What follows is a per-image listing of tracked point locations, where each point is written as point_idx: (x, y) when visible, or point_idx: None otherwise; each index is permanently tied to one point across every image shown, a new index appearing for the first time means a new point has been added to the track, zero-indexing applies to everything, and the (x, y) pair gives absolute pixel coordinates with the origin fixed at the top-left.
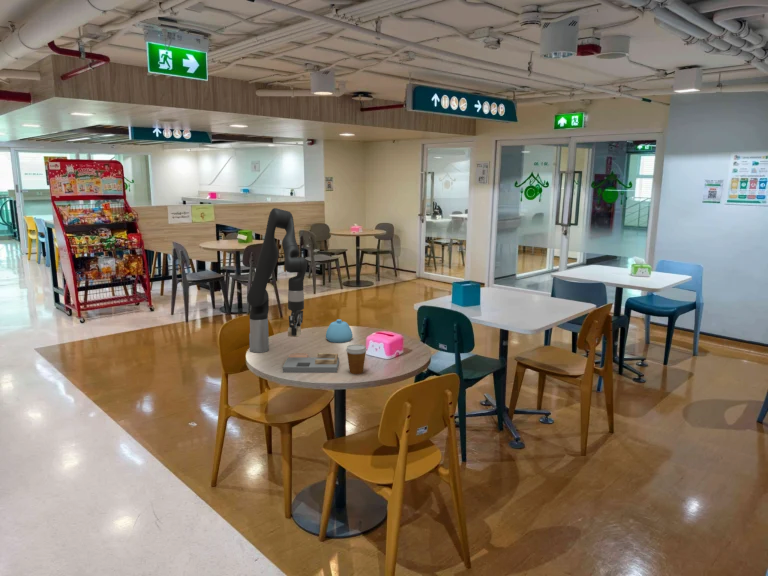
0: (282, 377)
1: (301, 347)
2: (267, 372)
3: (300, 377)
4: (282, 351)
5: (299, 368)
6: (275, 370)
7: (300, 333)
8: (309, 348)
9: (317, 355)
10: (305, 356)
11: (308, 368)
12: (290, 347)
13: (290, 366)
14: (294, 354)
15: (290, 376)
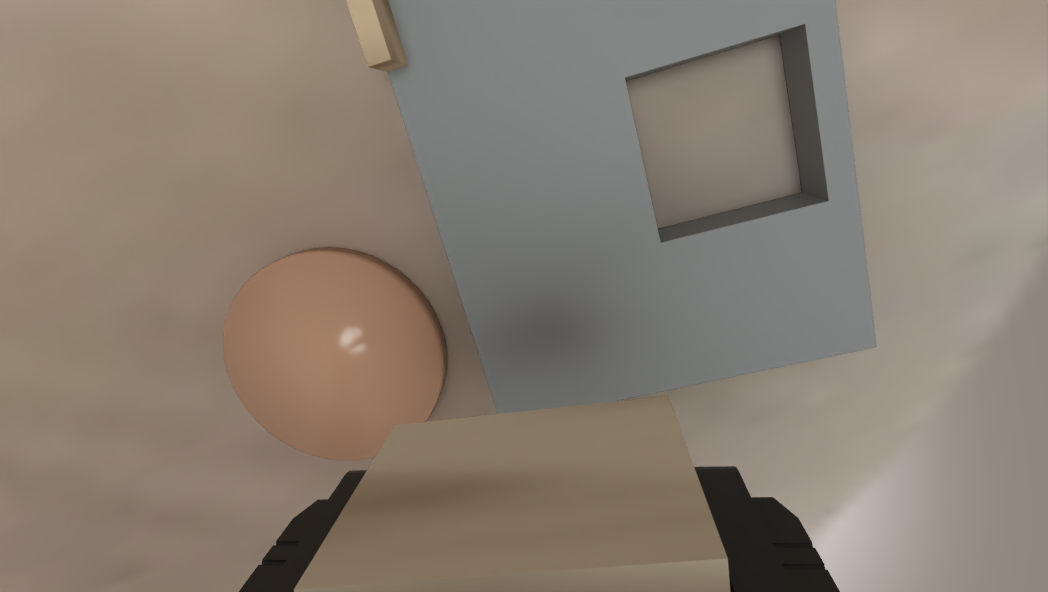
0: (1023, 262)
1: (29, 445)
2: (867, 465)
3: (1011, 52)
4: (221, 559)
5: (843, 144)
6: (792, 417)
7: (418, 436)
8: (13, 361)
9: (398, 60)
10: (327, 276)
11: (829, 20)
12: (83, 536)
13: (835, 269)
14: (311, 414)
15: (980, 188)
